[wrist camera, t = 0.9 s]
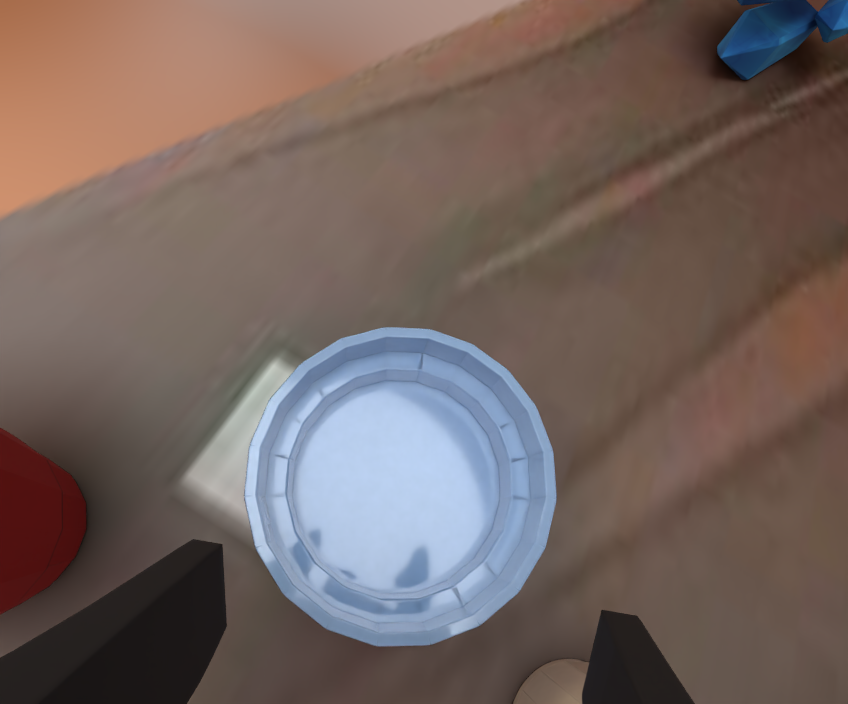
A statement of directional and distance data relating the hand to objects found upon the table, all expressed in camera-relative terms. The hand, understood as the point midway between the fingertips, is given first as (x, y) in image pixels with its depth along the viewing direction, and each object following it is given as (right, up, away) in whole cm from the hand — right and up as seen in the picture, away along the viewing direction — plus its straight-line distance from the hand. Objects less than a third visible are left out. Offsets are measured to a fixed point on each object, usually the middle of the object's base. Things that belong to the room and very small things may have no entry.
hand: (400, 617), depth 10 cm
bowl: (-1, -1, +15) cm, 15 cm away
